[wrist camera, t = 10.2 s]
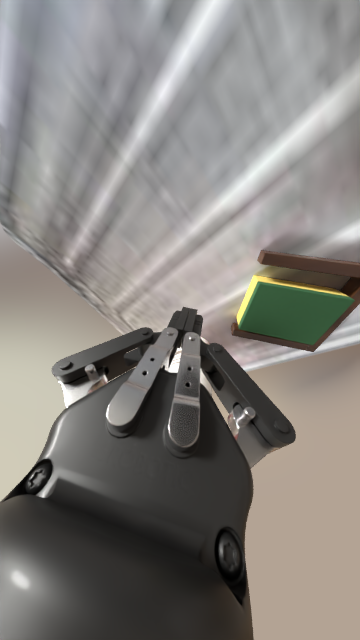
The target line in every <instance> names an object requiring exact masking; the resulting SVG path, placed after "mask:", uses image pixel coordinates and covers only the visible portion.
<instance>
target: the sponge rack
mask: <svg viewBox="0 0 360 640" xmlns="http://www.w3.org/2000/svg"><path fill="white" fill-rule="evenodd" d="M258 261H259V262H260V263H261V264H264V265H271V266H278V267H286V268H293V269H300V270H307V271H314V272H321V273H328V274H336V275H343V276H350V277H351V278H350V280H349V281H348V282H347V283H346V285H345V286H344V287H343V288H342V289H341V291H340V292H342V293H343V294H345V295H347V296H348V297H350V298H352V299H354V300H355V301H354V302H353V303H352V304H351V305H350V306H349V308H348V309H347V310H346V311H345V312H344V313H343V314H342V315H341V316H340V317H339V318H338V319H337V320H336V321H335V322H334V324H333V325H332V326H331V327H330V328H329V329H328V330H327V331H326V332H325V333H324V334H323V335H322V336H321V337H320V338H319V339H318V341H317V342H316V343H315V344H314V345H309V344H305V343H300V342H295V341H291V340H286V339H281V338H277V337H272V336H267V335H263V334H258V333H253V332H249V331H244V330H239V327H238V323H233V324H232V327H231V331H232V335H234V336H238V337H243V338H248V339H253V340H258V341H263V342H267V343H272V344H277V345H282V346H287V347H292V348H296V349H301V350H306V351H311V352H314V351H315V350H316V349H317V348H318V347H319V346H320V345H321V344H322V342H323V341H324V340H325V339H326V338H327V337H328V336H329V335H330V334H331V333H332V332H333V331H334V330H335V329H336V328H337V327H338V326H339V325H340V324H341V323H342V321H343V320H344V319H345V318H346V317H347V316H348V315H349V314H350V313H351V312H352V311H353V310H354V309H355V308H356V307H357V306H358V305H359V304H360V263H357V262H349V261H341V260H334V259H326V258H318V257H310V256H302V255H294V254H287V253H279V252H271V251H263V250H261V252H260V255H259V257H258Z"/></svg>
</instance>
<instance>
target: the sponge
mask: <svg viewBox="0 0 360 640" xmlns="http://www.w3.org/2000/svg"><path fill="white" fill-rule="evenodd" d="M354 301H355V300H354V299H352V298H350V297H348V296H347V295H345V294H343V293H342V292H340V291H338V290H336V289H334V288H328V287H322V286H316V285H310V284H304V283H298V282H292V281H286V280H280V279H274V278H268V277H262V276H256V275H254V276H253V278H252V281H251V283H250V286H249V288H248V290H247V293H246V295H245V298H244V300H243V303H242V305H241V307H240V310H239V312H238V315H237V322H238V327H239V330H244V331H249V332H253V333H258V334H263V335H267V336H272V337H277V338H281V339H286V340H291V341H295V342H300V343H305V344H309V345H314V344H315V343H316V342H317V341H318V339H319V338H320V337H321V336H322V335H323V334H324V333H325V332H326V331H327V330H328V329H329V328H330V327H331V326H332V325H333V324H334V322H335V321H336V320H337V319H338V318H339V317H340V316H341V315H342V314H343V313H344V312H345V311H346V310H347V309H348V308H349V306H350V305H351V304H352V303H353V302H354Z"/></svg>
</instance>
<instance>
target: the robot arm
mask: <svg viewBox="0 0 360 640" xmlns="http://www.w3.org/2000/svg"><path fill="white" fill-rule="evenodd" d="M196 314H197V310H196V309H190V308H186V307H183V308H182V311H176V312H175V313H174V314H173V316H172V318H171V320H170V322H169V325H168V327H167V328H165V329H164V330H163V331H162V332H154V333H153V331H152V330H151V329H150V328H146V327H145V328H140V329H138V330H135V331H133V332H130V333H127V334H125V335H122V336H120V337H117V338H115V339H112V340H110V341H107V342H104V343H102V344H99V345H97V346H94V347H92V348H89V349H87V350H84V351H81V352H79V353H76V354H74V355H71V356H69V357H66V358H64V359H62V360H60V361H58V362H57V363H56V364H55V365H54V366H53V368H52V373H53V375H54V376H55V377H56V378H57V381H58V382H59V383H60V385H61V386H62V389H63V394H64V400H65V405H66V409H65V410H64V411H63V412H62V413H61V414H60V415H59V416H58V418H57V419H56V421H55V422H54V424H53V426H52V428H51V430H50V433H49V436H48V439H47V442H46V444H45V447H44V449H43V451H42V453H41V455H40V457H39V459H38V461H37V462H36V464H35V465H34V467H33V468H32V469H31V471H30V472H29V473H28V474H27V475H26V476H25V477H24V479H23V480H22V481H21V482H20V483H19V484H18V485H17V486H16V487H15V488H14V489H13V490H12V491H11V492H10V493H9V494H8V495H7V496H6V497H5V498H4V499H3V500H2V501H1V502H0V640H253V627H252V616H251V605H250V596H249V587H248V579H247V570H246V563H245V543H244V542H245V529H246V522H247V516H248V513H249V509H250V506H251V503H252V497H253V479H252V474H251V470H250V469H251V468H252V467H253V466H254V465H255V464H256V463H258V462H259V461H260V460H261V459H262V458H263V457H265V456H266V455H267V454H269V453H271V452H273V451H275V450H278V449H280V448H282V447H284V446H286V445H289V444H291V443H293V442H294V441H295V438H296V434H295V430H294V428H293V426H292V424H291V423H290V422H289V420H288V419H287V418H286V417H285V416H284V415H283V414H282V412H281V411H280V410H279V409H278V408H277V407H276V406H275V405H274V404H273V402H272V401H271V400H270V399H269V398H268V397H267V396H266V395H265V394H264V393H263V391H262V390H261V389H260V388H259V387H258V386H257V384H256V383H255V382H254V381H253V380H252V379H251V378H250V377H249V375H248V374H247V373H246V372H245V371H244V370H243V369H242V368H241V367H240V365H239V364H238V363H237V362H236V361H235V360H234V359H233V358H232V356H231V355H230V354H229V353H228V352H227V351H226V350H225V349H224V347H223V346H221V345H220V344H217V343H212V344H210V345H208V344H206V343H205V342H203V341H202V339H201V337H200V336H201V329H202V323H203V318H202V316H201V315H196ZM181 344H182V345H181ZM137 347H138V348H137ZM135 348H137V349H135ZM178 348H179V349H180V348H181V349H182V352H181V357H180V362H179V368H178V372H169V370H170V367H171V365H172V362H173V360H174V358H175V355H176V352H177V349H178ZM133 349H135V350H133ZM131 350H133V351H131ZM129 351H130V352H129ZM127 352H128V353H127ZM134 367H136V368H134ZM132 368H133V369H132ZM130 369H131V370H130ZM200 369H201V370H202V372H203V374H204V376H205V377H206V379H207V380H208V382H209V383H210V385H211V386H212V388H213V389H214V391H215V393H216V394H217V396H218V397H219V399H220V401H221V402H222V404H223V405H224V407H225V408H226V410H227V411H228V413H229V416H228V424H229V427H230V428H229V427H228V425H227V423H226V422H225V420H224V418H223V416H222V414H221V413H220V411H219V409H218V407H217V406H216V404H215V402H214V400H213V398H212V397H211V395H210V393H209V391H208V390H207V389H206V387H205V386H204V385H203V384H201V383H200ZM128 370H129V371H128ZM125 372H126V373H125ZM123 373H124V374H123ZM121 374H122V375H121ZM119 375H120V376H119ZM117 376H119V377H117ZM115 377H117V378H116V379H114V378H115ZM112 379H114V380H112ZM110 380H112V381H110ZM108 381H110V382H108ZM107 382H108V383H107ZM230 429H231V430H230ZM231 431H232V432H231Z"/></svg>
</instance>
